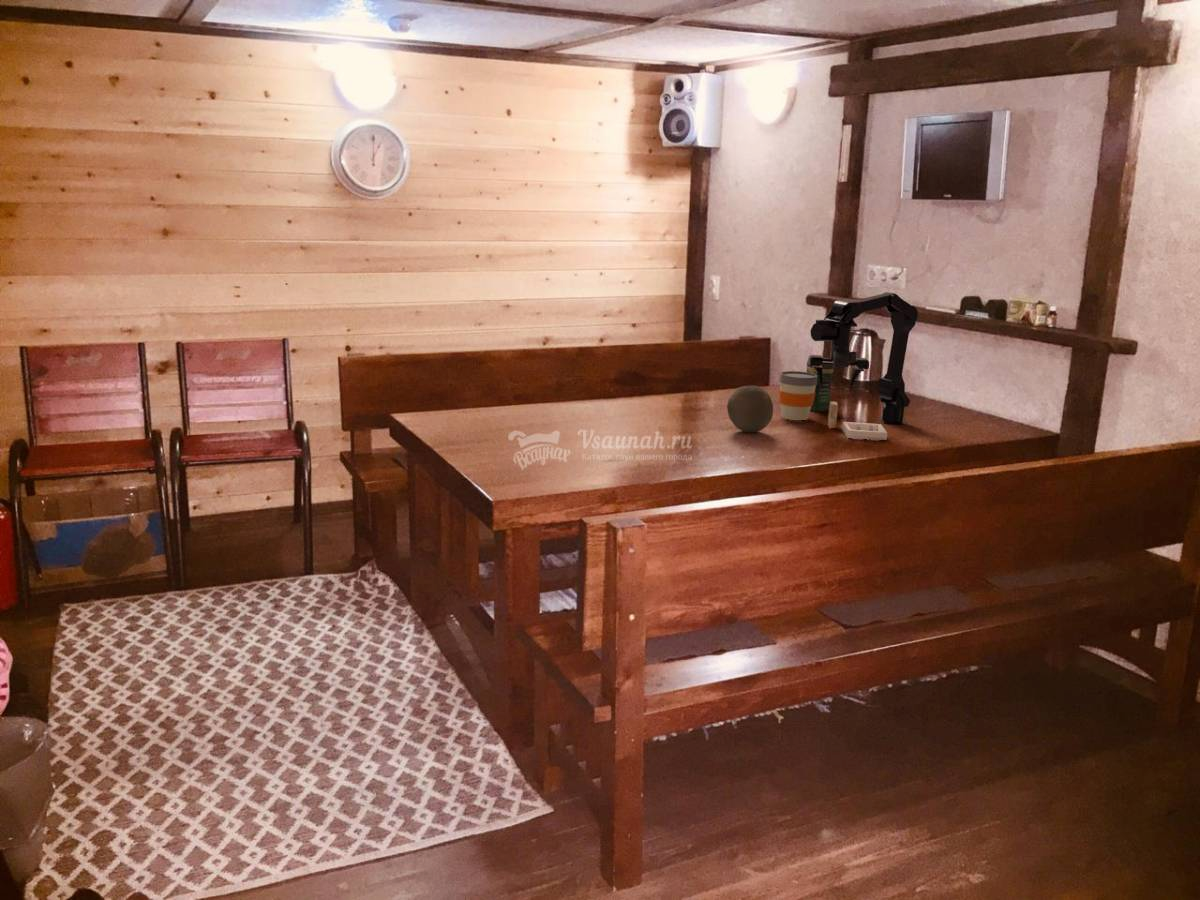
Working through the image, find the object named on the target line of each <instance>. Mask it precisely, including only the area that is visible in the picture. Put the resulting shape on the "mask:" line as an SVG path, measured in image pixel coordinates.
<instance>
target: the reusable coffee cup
mask: <svg viewBox="0 0 1200 900" xmlns="http://www.w3.org/2000/svg"><path fill="white" fill-rule="evenodd" d="M778 380H779V384H780V388H779V391H778V392H779V394H778V395H779V396H778V397H779V403H780V411H781V413H780V415H781V419H783V418H785V419H784V420H786V419H790V420H789V421H791V420H806V421H808V420H809V417H810V413H811V410H810V409H811V406H812V405H813V401H814V397H815V387H816V385H817V375H815V374H813V373H808V372H807V371H797V370H796V371H795V370H793V371H792V370H788V371H787V370H785V371H781V372H780V375H779V379H778ZM807 419H808V420H807Z"/></svg>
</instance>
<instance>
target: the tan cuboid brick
mask: <svg viewBox="0 0 1200 900" xmlns="http://www.w3.org/2000/svg"><path fill="white" fill-rule="evenodd" d="M838 408H839V404H838V402H837V401H830V405H829V410H828V417H827V426H829V427H828V429H831V428H837V427H836V426H837V421H838V420H837V418H838V412H839V411H838Z"/></svg>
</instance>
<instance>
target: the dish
mask: <svg viewBox="0 0 1200 900" xmlns="http://www.w3.org/2000/svg"><path fill="white" fill-rule="evenodd" d="M841 430H842V432H843V433H845V434H844V435H845V436H846V437H845V438H847V439H848V438H852V439H851V440H863V439H867V440H868V441H879V440H887V438H888V432H887V430H886V429H885V428H884V426H883V425H882V424H881V423H869V422H853V421H851V422H850V421H843V422H842V427H841ZM869 439H870V440H869ZM867 440H866V441H867ZM887 441H888V440H887Z"/></svg>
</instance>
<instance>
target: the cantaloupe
mask: <svg viewBox="0 0 1200 900" xmlns="http://www.w3.org/2000/svg"><path fill="white" fill-rule="evenodd" d="M726 409H727V413H728V418H729V420H730V421H731V422H732V424H733V425H734V426H735V427H736V428H737V429H738V430H740V431H742V432H744V433H750V434H752V433H758V432H760V431H762V430H764V429H766V427H767V426H768V425H769V424H770V423H771V421H772V419H773V416H774V404H773V401H772V399H771V396H770V394H769V393H768V392H767V391H766V390H765V389H763V388H762V387H760V386H757V385H744V386H743V385H742V386H740V387H738V388H736V389H735V390H734V391H733V392H732V393H731V394H730V396H729V397H728V400H727V405H726Z"/></svg>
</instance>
